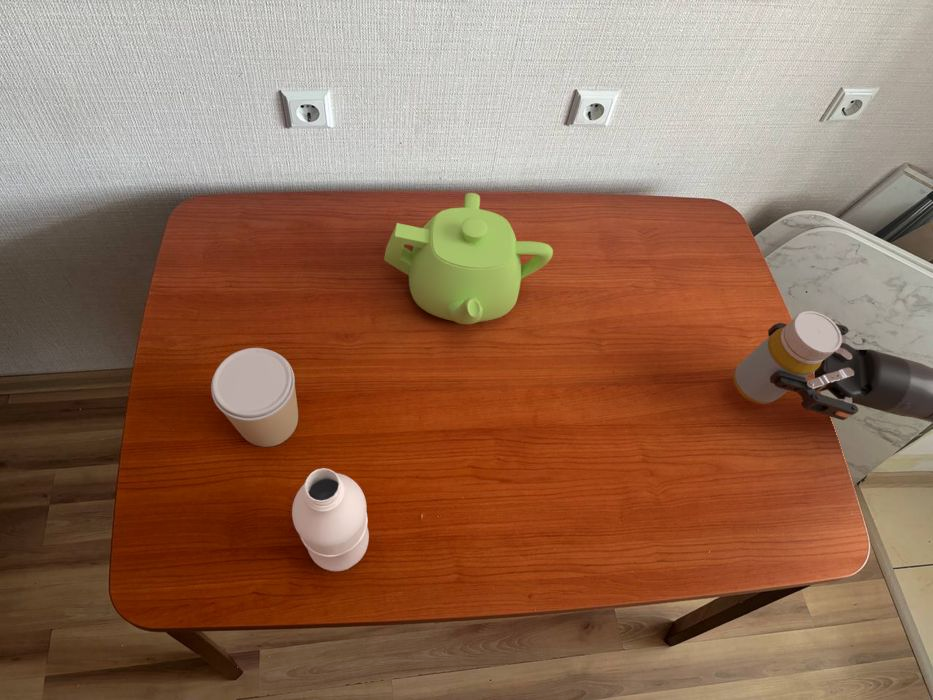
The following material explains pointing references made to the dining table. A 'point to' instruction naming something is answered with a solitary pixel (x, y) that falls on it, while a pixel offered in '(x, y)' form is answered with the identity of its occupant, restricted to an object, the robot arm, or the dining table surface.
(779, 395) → the bottle
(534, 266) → the teapot
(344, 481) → the water bottle
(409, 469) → the dining table surface
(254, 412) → the coffee cup
